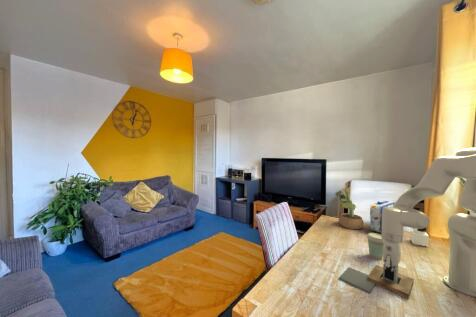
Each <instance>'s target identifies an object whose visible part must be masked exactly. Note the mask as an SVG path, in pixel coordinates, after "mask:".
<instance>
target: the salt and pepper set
mask: <svg viewBox="0 0 476 317" xmlns="http://www.w3.org/2000/svg"><path fill="white" fill-rule="evenodd" d="M429 237H430V236H429V234H428V233H427V227H425V228H422V229H416V228H412V229H411V230H410V241H411V243H412V244H413V245H416V246H420V245H421V246H422V247H425V246H426V248H428V247H429V240H430V239H429Z"/></svg>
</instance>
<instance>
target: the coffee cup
mask: <svg viewBox="0 0 476 317" xmlns="http://www.w3.org/2000/svg"><path fill="white" fill-rule="evenodd" d="M366 237H367V238H366V239H367V242H368V243H367V244H368V252H369V253H368V255H369V257H370V258H372V259H374V260H376V261H377V260H378V261H381V260H383V247H384V239H382V238H381V233H378V232H376V233H375V232H368V234H367V236H366Z"/></svg>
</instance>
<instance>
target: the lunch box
mask: <svg viewBox="0 0 476 317" xmlns="http://www.w3.org/2000/svg"><path fill="white" fill-rule="evenodd" d="M395 203H396V201H395V202H394V201H389V200H383V201H377V202H376V203H373V204H371V205H370V208H369V216H370V217H369V218H370V221H369V222H370V225H369V226H370V230H371V231H374V232H376V233H379V234H381V232H382V210H383V208H386V207H392V208H393V206H394V205H395Z"/></svg>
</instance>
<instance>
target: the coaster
mask: <svg viewBox="0 0 476 317" xmlns="http://www.w3.org/2000/svg"><path fill="white" fill-rule="evenodd" d="M368 275H369V274H367V273H364V272H362V271H359V270H357V269H355V268H353V267H349V266H348V267H347V268H346V269H345V270H344V272H342V274H341V275H340V276H338V280H340V281H342V280H343V281H342V282H344V281H345V282H344V283H347V284H349V285H351V286H353V287H355V288H356V289H359V290H361V291H364V292H366V293H368V294H371V293H372V290H373V289H374V288H375V286H376V285H375V283H374V282H372V281H370V280H367V277H368Z"/></svg>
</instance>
